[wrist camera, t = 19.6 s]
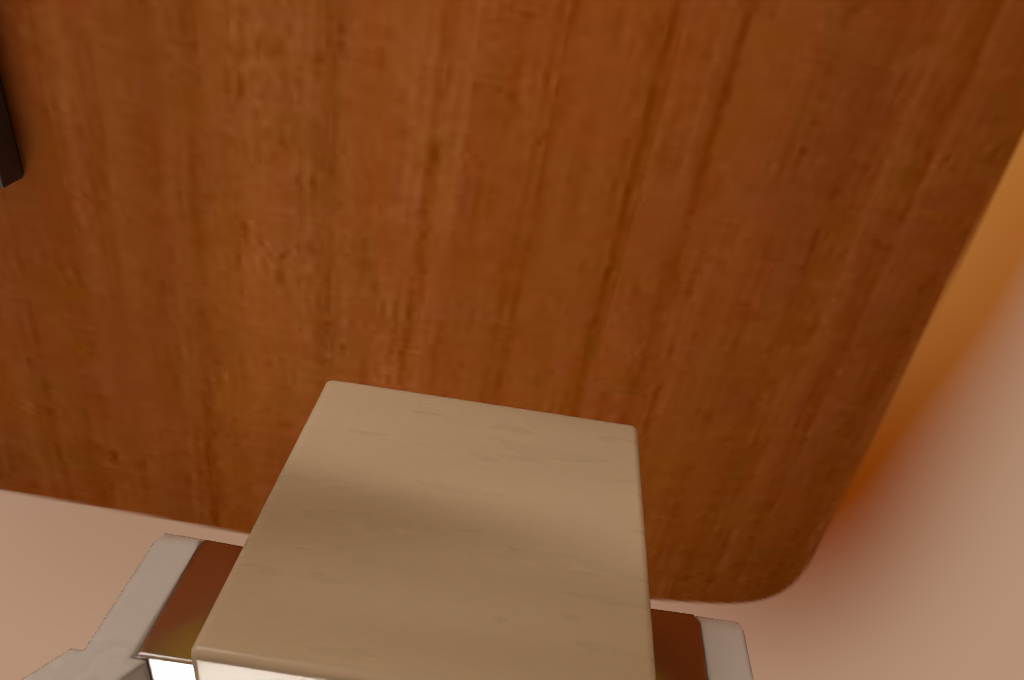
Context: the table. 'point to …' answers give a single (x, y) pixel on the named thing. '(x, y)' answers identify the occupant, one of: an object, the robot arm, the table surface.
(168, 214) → the table surface
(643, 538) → the tile
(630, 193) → the table surface
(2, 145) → the dark grey flat block
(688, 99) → the table surface
